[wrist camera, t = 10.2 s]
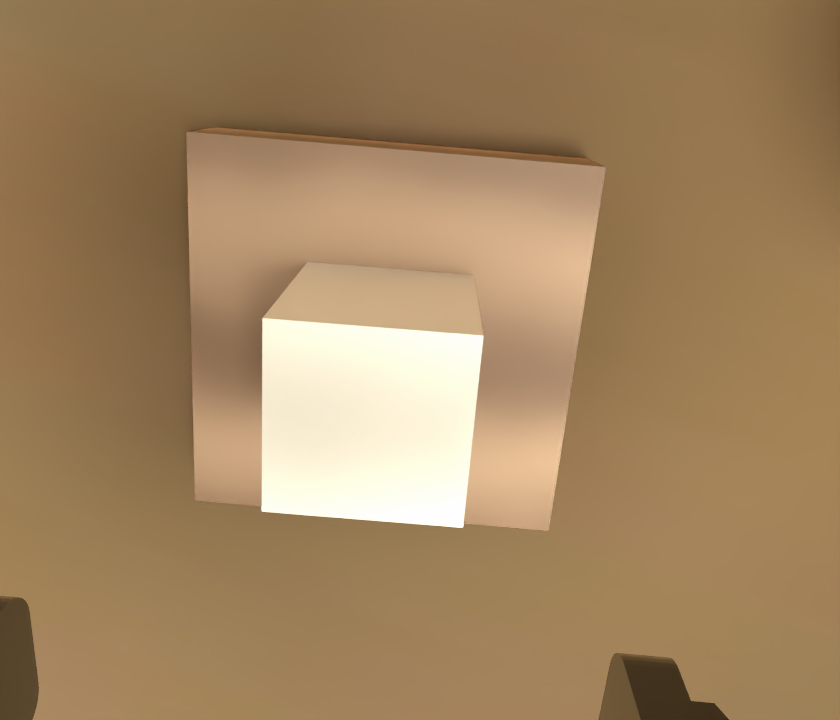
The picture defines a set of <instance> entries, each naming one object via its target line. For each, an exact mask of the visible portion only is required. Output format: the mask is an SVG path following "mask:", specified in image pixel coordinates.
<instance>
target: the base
mask: <svg viewBox="0 0 840 720" xmlns="http://www.w3.org/2000/svg"><path fill="white" fill-rule="evenodd" d="M186 139H187V181H188V223H189V266H190V308H191V350H192V392H193V435H194V477H195V501H205V502H217V503H229V504H241V505H252V506H262V318H263V317H264V315H265V314H266V313H267V312H268V311H269V309H270V308H271V307H272V306H273V304H274V303H275V302H276V301H277V299H278V298H279V297H280V296H281V294H282V293H283V292H284V291H285V289H286V288H287V287H288V286H289V284H290V283H291V282H292V281H293V279H294V278H295V277H296V276H297V274H298V273H299V272H300V271H301V269H302V268H303V267H304V266H305V265H306V263H307V262H315V263H327V264H340V265H353V266H365V267H378V268H390V269H403V270H416V271H428V272H441V273H454V274H466V275H474V281H475V287H476V293H477V299H478V305H479V311H480V317H481V323H482V329H483V335H484V337H483V346H482V355H481V365H480V374H479V383H478V393H477V402H476V411H475V420H474V430H473V439H472V448H471V458H470V467H469V476H468V486H467V495H466V504H465V514H464V524H476V525H488V526H500V527H512V528H523V529H535V530H547V531H549V525H550V518H551V512H552V506H553V499H554V493H555V487H556V480H557V474H558V468H559V461H560V455H561V449H562V442H563V436H564V430H565V423H566V417H567V411H568V404H569V398H570V392H571V385H572V379H573V373H574V366H575V360H576V354H577V347H578V341H579V335H580V328H581V322H582V316H583V309H584V303H585V297H586V290H587V284H588V278H589V271H590V265H591V259H592V252H593V246H594V240H595V233H596V227H597V221H598V214H599V208H600V202H601V195H602V189H603V183H604V176H605V170H606V167H605V166H603V165H600V164H598V163H596V162H594V161H592V160H589V159H587V158H576V157H564V156H552V155H540V154H528V153H516V152H505V151H493V150H481V149H469V148H457V147H445V146H434V145H422V144H410V143H398V142H386V141H374V140H363V139H351V138H339V137H327V136H315V135H303V134H291V133H280V132H268V131H256V130H244V129H232V128H220V127H214V128H207V129H200V130H194V131H187V132H186Z"/></svg>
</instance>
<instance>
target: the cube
mask: <svg viewBox="0 0 840 720" xmlns="http://www.w3.org/2000/svg"><path fill="white" fill-rule="evenodd" d="M483 337H484V335H483V329H482V323H481V317H480V311H479V305H478V299H477V293H476V287H475V281H474V275H466V274H454V273H441V272H428V271H416V270H403V269H390V268H378V267H365V266H353V265H340V264H327V263H315V262H307V263H306V265H305V266H304V267H303V268H302V269H301V271H300V272H299V273H298V274H297V276H296V277H295V278H294V279H293V281H292V282H291V283H290V284H289V286H288V287H287V288H286V289H285V291H284V292H283V293H282V294H281V296H280V297H279V298H278V299H277V301H276V302H275V303H274V304H273V306H272V307H271V308H270V309H269V311H268V312H267V313H266V314H265V315H264V317H263V318H262V512H273V513H286V514H298V515H311V516H323V517H336V518H348V519H361V520H373V521H386V522H398V523H411V524H423V525H436V526H448V527H461V528H463V523H464V514H465V504H466V495H467V486H468V476H469V467H470V458H471V448H472V439H473V430H474V420H475V411H476V402H477V393H478V383H479V374H480V365H481V355H482V346H483Z"/></svg>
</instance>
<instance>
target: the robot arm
mask: <svg viewBox="0 0 840 720" xmlns="http://www.w3.org/2000/svg"><path fill="white" fill-rule="evenodd" d="M38 690H39V686H38V676H37V668H36V660H35V652H34V644H33V636H32V628H31V620H30V612H29V607H28V605H27V603H26V601H25V600H24V599H22V598H17V597H6V596H0V720H32V719H33V716H34V713H35V709H36V705H37V700H38ZM599 720H729V719H728V718H727V717H726V716H725V715H724V714H723V713H722V711H721V710H720V709H719V708H718V707H717V706H716V705H715V704H714V703H705V702H694V701H691V700H690V698H689V695H688V692H687V690H686V687H685V685H684V682H683V680H682V677H681V674H680V672H679V669H678V667H677V665H676V663H675V662H674V660H673V659H671V658H666V657H655V656H644V655H633V654H622V653H616V654H614V656H613V657H612V660H611V663H610V667H609V672H608V677H607V682H606V687H605V692H604V696H603V701H602V706H601V711H600V716H599Z"/></svg>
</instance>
